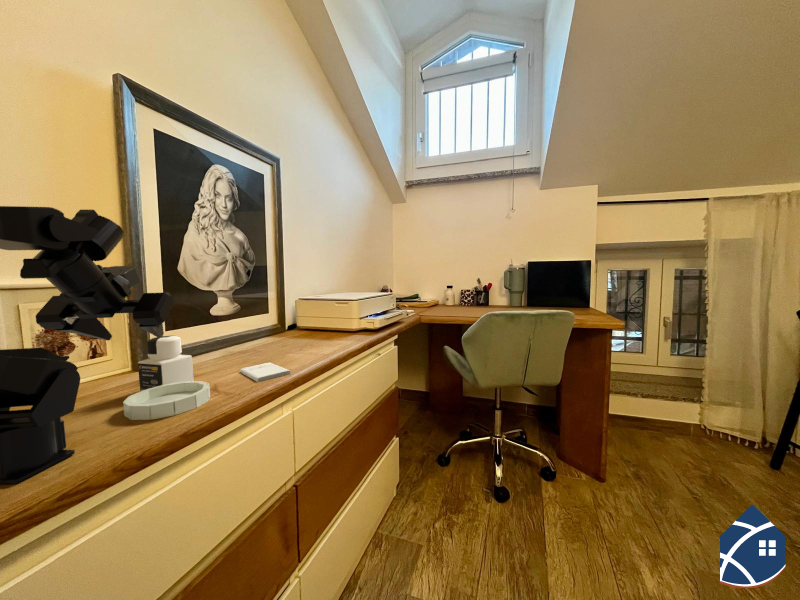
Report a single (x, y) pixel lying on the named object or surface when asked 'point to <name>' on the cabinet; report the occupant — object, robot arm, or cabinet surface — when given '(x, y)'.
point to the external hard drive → (264, 371)
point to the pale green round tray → (166, 400)
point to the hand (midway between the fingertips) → (136, 337)
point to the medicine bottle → (164, 363)
